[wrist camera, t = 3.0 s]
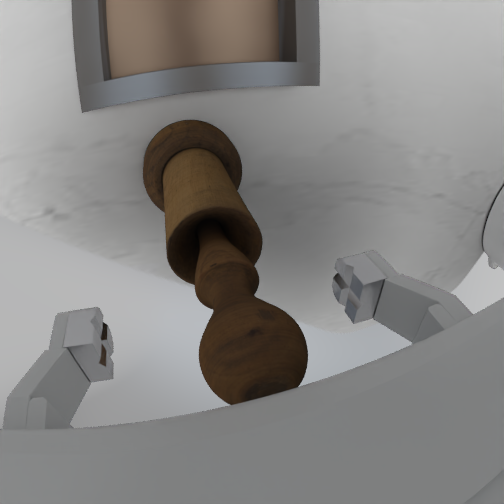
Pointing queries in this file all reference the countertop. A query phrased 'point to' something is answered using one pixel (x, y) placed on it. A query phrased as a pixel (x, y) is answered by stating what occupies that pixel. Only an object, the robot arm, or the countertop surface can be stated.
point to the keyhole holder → (191, 47)
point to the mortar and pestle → (221, 263)
